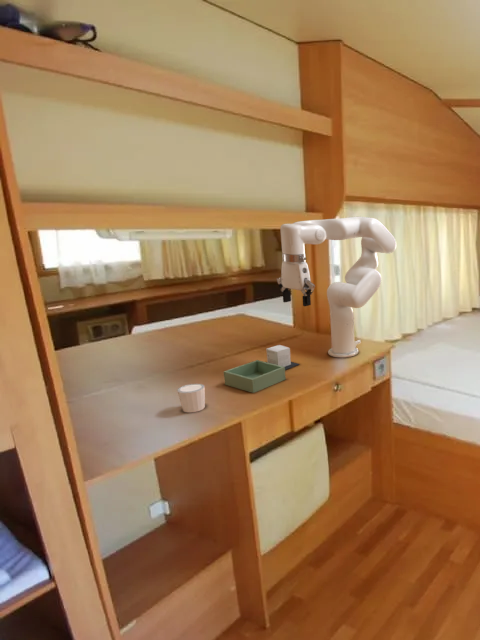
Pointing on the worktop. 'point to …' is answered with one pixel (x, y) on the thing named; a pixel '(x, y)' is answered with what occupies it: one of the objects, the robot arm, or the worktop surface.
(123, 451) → the worktop surface
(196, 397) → the shot glass
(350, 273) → the robot arm
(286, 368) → the mat
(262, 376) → the green square tray
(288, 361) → the product box
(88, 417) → the worktop surface
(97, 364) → the worktop surface
